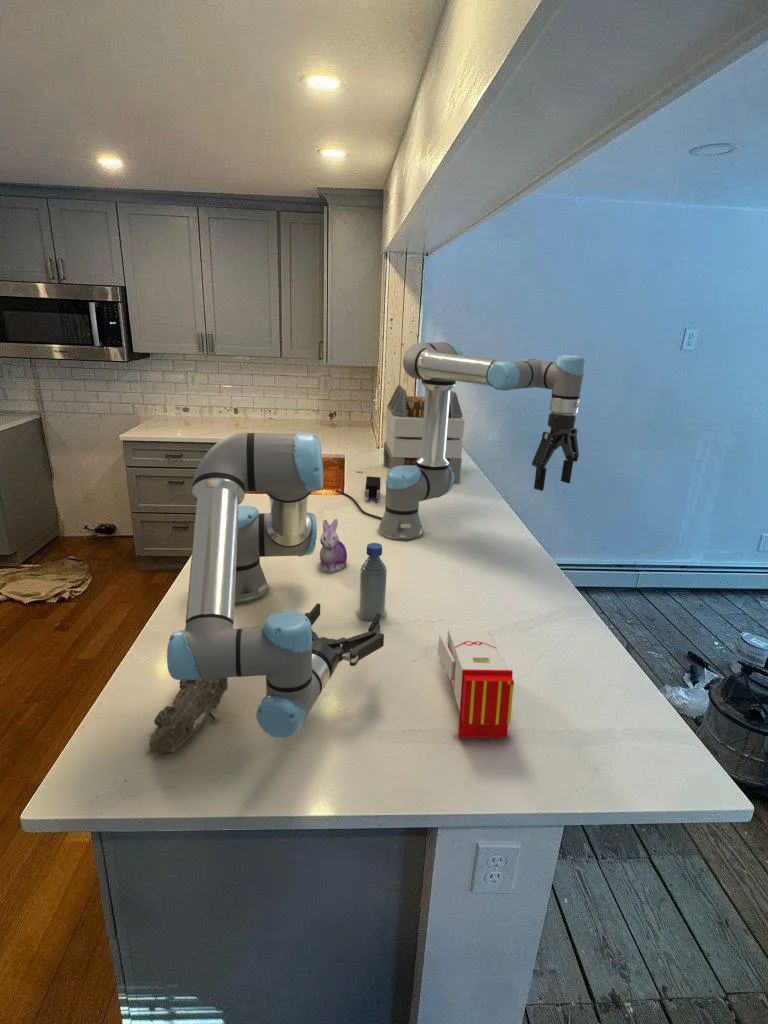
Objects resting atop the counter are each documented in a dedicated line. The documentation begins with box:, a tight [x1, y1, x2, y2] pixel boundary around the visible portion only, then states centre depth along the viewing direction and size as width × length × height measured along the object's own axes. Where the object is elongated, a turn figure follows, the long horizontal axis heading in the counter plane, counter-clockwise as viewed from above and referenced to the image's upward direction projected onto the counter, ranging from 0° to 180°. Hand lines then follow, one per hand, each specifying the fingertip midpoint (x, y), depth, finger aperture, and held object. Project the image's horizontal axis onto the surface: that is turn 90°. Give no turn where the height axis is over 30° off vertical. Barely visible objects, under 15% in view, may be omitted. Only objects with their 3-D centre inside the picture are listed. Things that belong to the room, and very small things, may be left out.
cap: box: [366, 542, 383, 557], centre depth 141 cm, size 4×4×2 cm
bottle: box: [358, 556, 388, 622], centre depth 144 cm, size 7×7×19 cm
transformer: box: [383, 384, 465, 484], centre depth 268 cm, size 34×33×41 cm
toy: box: [437, 628, 515, 738], centre depth 117 cm, size 12×13×30 cm
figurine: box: [319, 518, 348, 573], centre depth 170 cm, size 9×10×15 cm
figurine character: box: [364, 475, 381, 503], centre depth 235 cm, size 7×8×15 cm
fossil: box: [148, 677, 229, 754], centre depth 106 cm, size 22×10×15 cm
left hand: (348, 613), depth 123 cm, fingers open, 13 cm apart
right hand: (552, 485), depth 166 cm, fingers open, 13 cm apart
